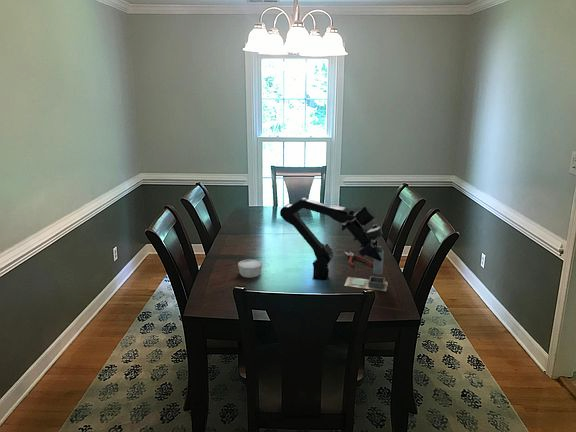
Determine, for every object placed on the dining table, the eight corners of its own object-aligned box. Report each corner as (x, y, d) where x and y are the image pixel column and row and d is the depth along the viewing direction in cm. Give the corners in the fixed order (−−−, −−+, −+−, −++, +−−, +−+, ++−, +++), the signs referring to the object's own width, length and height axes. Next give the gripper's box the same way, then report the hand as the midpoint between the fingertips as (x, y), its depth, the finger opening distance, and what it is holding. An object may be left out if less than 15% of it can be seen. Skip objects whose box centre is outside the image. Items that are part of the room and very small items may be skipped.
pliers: (356, 253, 243) (357, 248, 242) (373, 267, 224) (373, 262, 223) (336, 255, 240) (336, 250, 239) (351, 269, 221) (351, 264, 220)
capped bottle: (372, 273, 199) (374, 247, 196) (373, 270, 203) (375, 244, 199) (381, 275, 198) (383, 248, 195) (382, 271, 202) (384, 245, 198)
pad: (351, 284, 202) (351, 283, 202) (353, 279, 207) (353, 278, 207) (364, 286, 201) (364, 285, 201) (365, 281, 206) (365, 280, 206)
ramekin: (252, 267, 220) (252, 257, 219) (267, 274, 212) (267, 264, 211) (233, 273, 213) (233, 262, 212) (247, 281, 205) (247, 270, 204)
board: (344, 286, 201) (344, 285, 201) (347, 277, 210) (348, 276, 210) (386, 291, 196) (386, 291, 196) (387, 282, 205) (387, 282, 205)
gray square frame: (368, 287, 200) (368, 281, 199) (369, 281, 206) (370, 276, 205) (383, 289, 198) (384, 283, 197) (384, 283, 204) (385, 277, 203)
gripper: (368, 226, 187) (394, 255, 186) (375, 215, 204) (398, 241, 203) (348, 242, 191) (373, 270, 191) (356, 229, 208) (379, 255, 208)
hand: (381, 258), depth 198 cm, fingers closed on capped bottle, 4 cm apart
